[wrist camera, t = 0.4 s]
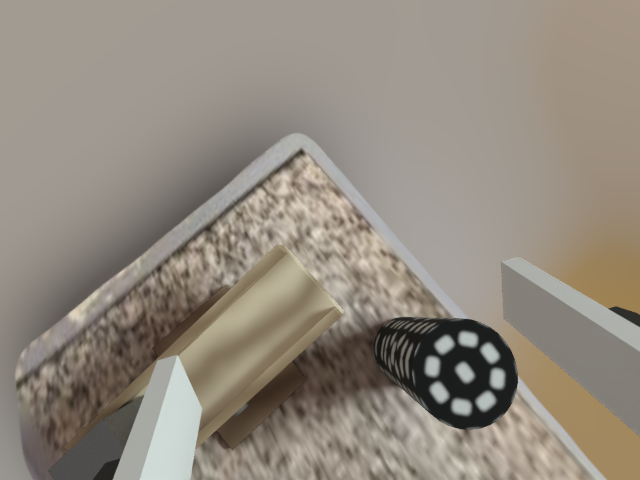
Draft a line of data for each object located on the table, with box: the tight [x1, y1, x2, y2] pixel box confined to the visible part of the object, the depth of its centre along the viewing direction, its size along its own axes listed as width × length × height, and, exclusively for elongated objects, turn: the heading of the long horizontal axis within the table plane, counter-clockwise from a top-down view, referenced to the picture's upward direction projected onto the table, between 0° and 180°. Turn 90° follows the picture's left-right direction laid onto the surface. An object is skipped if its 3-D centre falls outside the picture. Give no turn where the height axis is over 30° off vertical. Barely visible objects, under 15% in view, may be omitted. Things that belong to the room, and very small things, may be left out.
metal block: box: [48, 395, 144, 480], centre depth 36 cm, size 6×7×6 cm
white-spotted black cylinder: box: [374, 317, 518, 430], centre depth 39 cm, size 8×8×20 cm
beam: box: [65, 245, 344, 451], centre depth 38 cm, size 10×30×4 cm, turn 132°
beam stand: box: [152, 285, 307, 450], centre depth 45 cm, size 16×20×9 cm
